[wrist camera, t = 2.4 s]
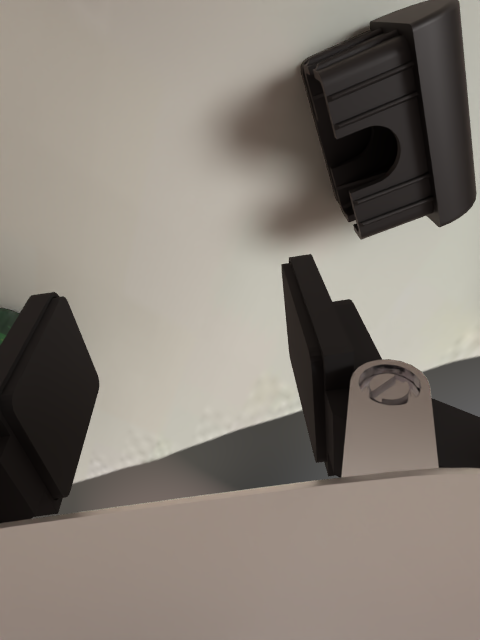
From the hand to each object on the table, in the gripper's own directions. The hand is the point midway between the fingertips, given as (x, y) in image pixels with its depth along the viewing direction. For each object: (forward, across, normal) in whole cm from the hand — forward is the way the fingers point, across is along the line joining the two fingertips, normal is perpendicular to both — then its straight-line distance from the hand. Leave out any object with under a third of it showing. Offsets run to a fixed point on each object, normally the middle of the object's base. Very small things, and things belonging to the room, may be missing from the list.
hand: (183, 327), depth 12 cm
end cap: (+20, -11, 0) cm, 23 cm away
